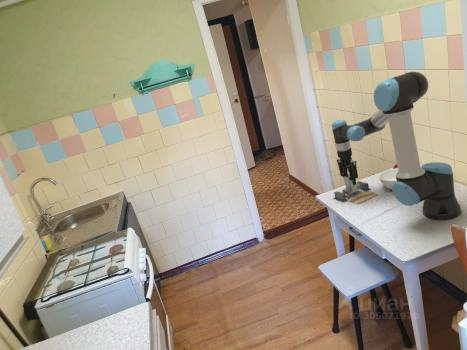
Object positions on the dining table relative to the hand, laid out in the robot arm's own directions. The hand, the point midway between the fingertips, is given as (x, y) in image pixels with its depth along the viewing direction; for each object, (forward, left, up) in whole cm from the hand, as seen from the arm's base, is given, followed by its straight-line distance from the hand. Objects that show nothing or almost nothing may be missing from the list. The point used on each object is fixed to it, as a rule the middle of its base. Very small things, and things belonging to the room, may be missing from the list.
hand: (351, 189), depth 206 cm
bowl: (-14, -20, -4) cm, 24 cm away
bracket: (-2, -31, -4) cm, 32 cm away
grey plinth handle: (0, 0, -3) cm, 3 cm away
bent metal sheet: (0, 0, -1) cm, 1 cm away
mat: (-8, 0, -3) cm, 9 cm away
